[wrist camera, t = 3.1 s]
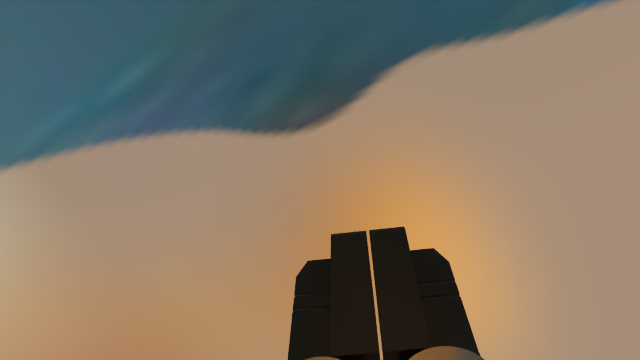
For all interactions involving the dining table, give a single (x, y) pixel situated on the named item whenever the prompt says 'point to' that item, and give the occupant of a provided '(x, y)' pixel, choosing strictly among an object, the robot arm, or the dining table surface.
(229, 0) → the dining table surface
